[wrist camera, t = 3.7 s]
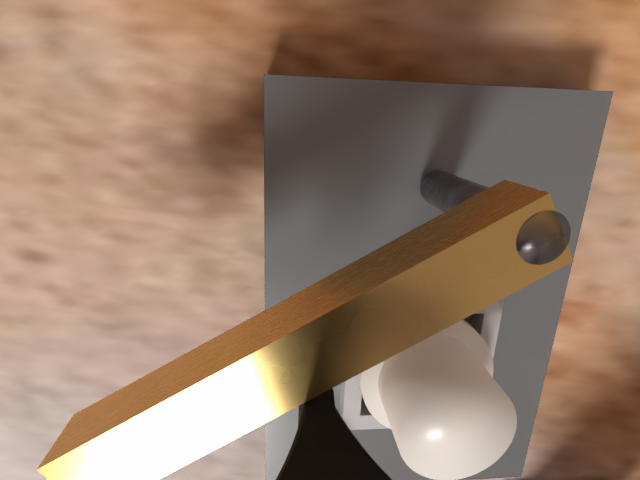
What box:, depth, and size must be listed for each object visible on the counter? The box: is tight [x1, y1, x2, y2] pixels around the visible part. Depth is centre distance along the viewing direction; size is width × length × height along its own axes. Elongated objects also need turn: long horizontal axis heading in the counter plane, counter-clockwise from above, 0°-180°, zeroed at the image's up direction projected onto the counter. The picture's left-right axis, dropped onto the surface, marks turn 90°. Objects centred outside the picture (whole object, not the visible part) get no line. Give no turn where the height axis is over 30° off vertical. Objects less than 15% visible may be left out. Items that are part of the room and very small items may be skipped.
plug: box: [358, 319, 517, 480], centre depth 17 cm, size 6×6×5 cm
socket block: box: [264, 74, 613, 480], centre depth 19 cm, size 20×14×3 cm
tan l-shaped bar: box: [37, 170, 573, 480], centre depth 14 cm, size 15×2×7 cm, turn 119°
